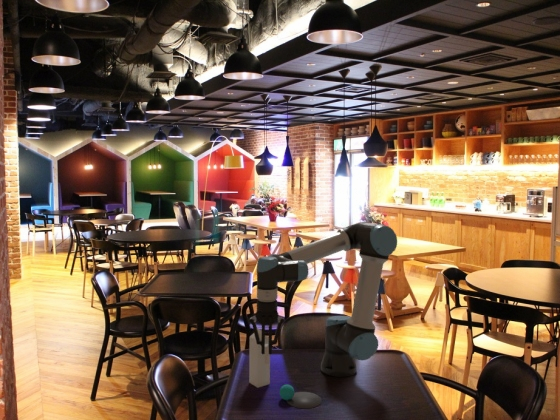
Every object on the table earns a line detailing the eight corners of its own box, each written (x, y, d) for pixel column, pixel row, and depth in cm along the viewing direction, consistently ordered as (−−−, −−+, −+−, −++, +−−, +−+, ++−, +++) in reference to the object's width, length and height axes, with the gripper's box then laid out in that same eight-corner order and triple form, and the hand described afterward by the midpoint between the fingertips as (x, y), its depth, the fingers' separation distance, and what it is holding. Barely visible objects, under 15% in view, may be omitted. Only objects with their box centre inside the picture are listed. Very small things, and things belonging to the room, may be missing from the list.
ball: (275, 387, 185) (282, 400, 185) (278, 392, 180) (285, 405, 180) (288, 379, 186) (295, 392, 186) (291, 384, 181) (298, 397, 181)
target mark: (319, 392, 190) (319, 391, 190) (323, 408, 177) (323, 407, 177) (285, 392, 189) (285, 391, 189) (287, 408, 176) (287, 408, 176)
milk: (257, 388, 193) (257, 333, 191) (249, 382, 198) (249, 329, 196) (270, 384, 197) (270, 330, 195) (261, 378, 201) (261, 326, 200)
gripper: (248, 302, 176) (248, 366, 178) (285, 302, 176) (284, 366, 178) (249, 296, 183) (249, 358, 185) (284, 296, 184) (283, 358, 185)
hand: (266, 362), depth 181 cm, fingers closed
